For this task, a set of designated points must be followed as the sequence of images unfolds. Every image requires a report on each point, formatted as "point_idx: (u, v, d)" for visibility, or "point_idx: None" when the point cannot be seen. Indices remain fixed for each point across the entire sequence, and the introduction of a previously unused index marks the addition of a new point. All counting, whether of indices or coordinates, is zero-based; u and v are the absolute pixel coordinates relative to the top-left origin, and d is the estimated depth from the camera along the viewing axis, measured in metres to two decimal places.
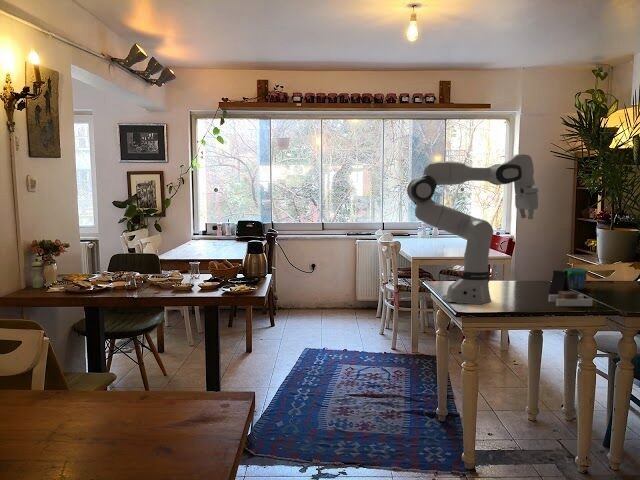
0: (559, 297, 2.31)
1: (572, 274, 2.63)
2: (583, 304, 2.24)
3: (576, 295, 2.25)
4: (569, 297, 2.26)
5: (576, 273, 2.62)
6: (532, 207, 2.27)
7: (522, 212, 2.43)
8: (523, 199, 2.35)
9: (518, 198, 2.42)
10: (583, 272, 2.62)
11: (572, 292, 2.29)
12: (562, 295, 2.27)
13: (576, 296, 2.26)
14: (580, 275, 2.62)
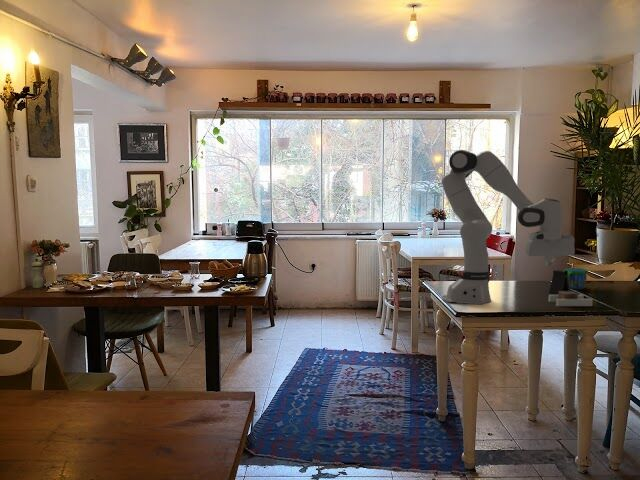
0: (559, 297, 2.31)
1: (572, 274, 2.63)
2: (583, 304, 2.24)
3: (576, 295, 2.25)
4: (569, 297, 2.26)
5: (576, 273, 2.62)
6: (526, 252, 2.28)
7: (553, 259, 2.27)
8: None
9: None
10: (583, 272, 2.62)
11: (572, 292, 2.29)
12: (562, 295, 2.27)
13: (576, 296, 2.26)
14: (580, 275, 2.62)
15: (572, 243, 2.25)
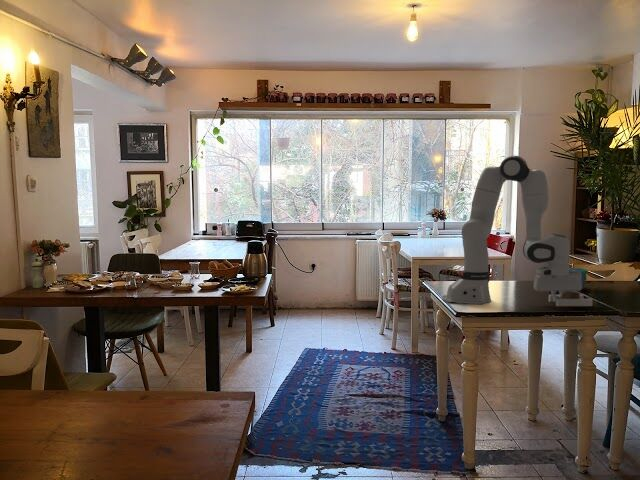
0: (561, 297, 2.31)
1: None
2: (583, 304, 2.24)
3: (578, 295, 2.25)
4: (571, 297, 2.26)
5: None
6: (534, 287, 2.30)
7: (560, 294, 2.29)
8: None
9: None
10: (583, 272, 2.62)
11: (574, 292, 2.29)
12: (564, 295, 2.27)
13: (578, 296, 2.25)
14: None
15: (579, 279, 2.26)
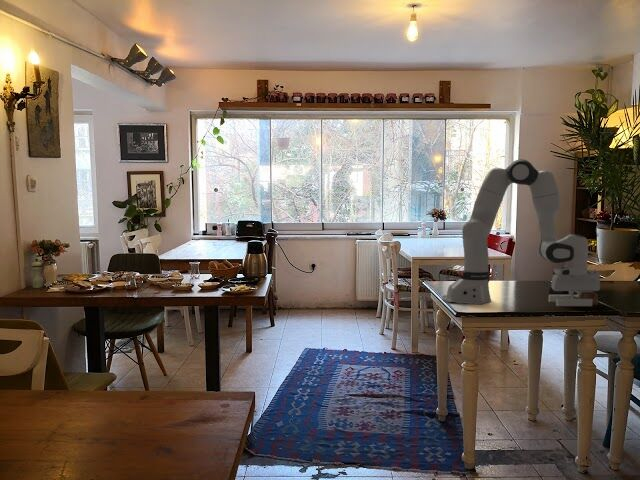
0: (579, 297, 2.30)
1: None
2: (583, 304, 2.24)
3: (596, 295, 2.25)
4: (589, 297, 2.25)
5: None
6: (552, 287, 2.29)
7: (577, 294, 2.28)
8: None
9: None
10: None
11: (592, 292, 2.28)
12: (582, 295, 2.27)
13: (596, 296, 2.25)
14: None
15: (598, 279, 2.25)
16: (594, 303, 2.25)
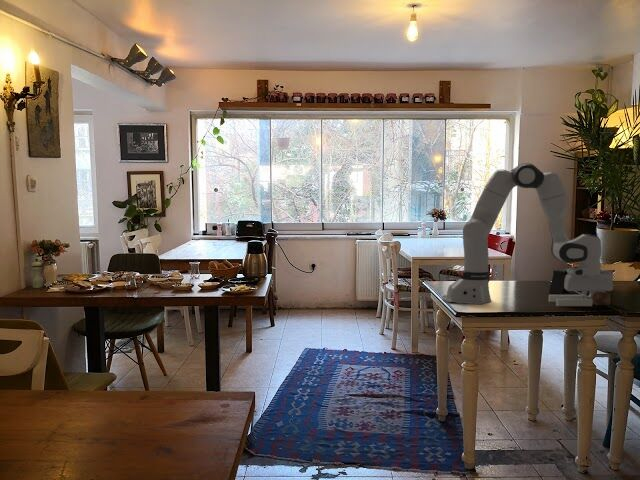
0: None
1: None
2: (583, 304, 2.24)
3: (609, 295, 2.25)
4: (601, 297, 2.25)
5: None
6: (564, 287, 2.29)
7: (590, 294, 2.28)
8: None
9: None
10: None
11: (604, 292, 2.28)
12: (594, 295, 2.27)
13: (609, 296, 2.25)
14: None
15: (611, 279, 2.25)
16: (606, 303, 2.25)
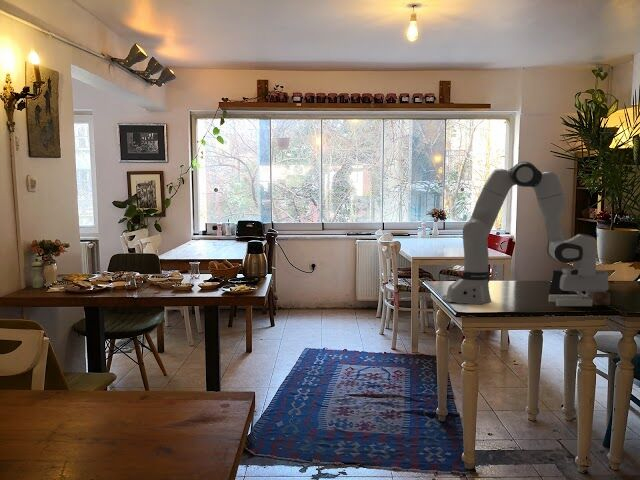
0: (591, 297, 2.30)
1: None
2: (583, 304, 2.24)
3: (608, 295, 2.25)
4: (601, 297, 2.25)
5: None
6: (560, 287, 2.29)
7: (586, 294, 2.28)
8: None
9: None
10: None
11: (604, 292, 2.28)
12: (594, 295, 2.27)
13: (608, 296, 2.25)
14: None
15: (606, 279, 2.25)
16: (606, 303, 2.25)
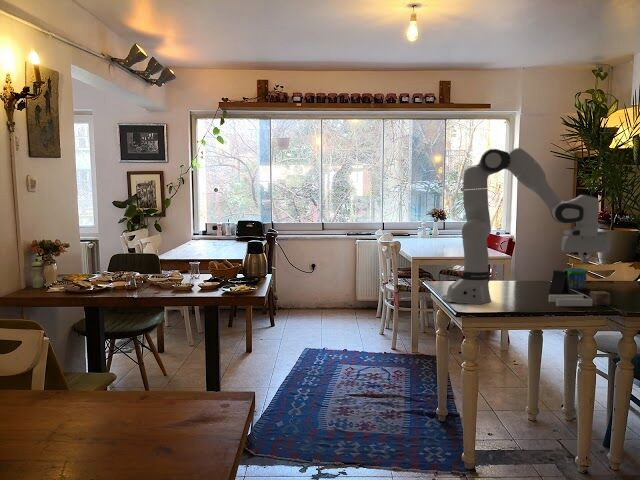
0: (591, 297, 2.30)
1: (572, 274, 2.63)
2: (583, 304, 2.24)
3: (608, 295, 2.25)
4: (601, 297, 2.25)
5: (576, 273, 2.62)
6: (561, 248, 2.28)
7: (587, 256, 2.27)
8: None
9: None
10: (583, 272, 2.62)
11: (604, 292, 2.28)
12: (594, 295, 2.27)
13: (608, 296, 2.25)
14: (580, 275, 2.62)
15: (608, 240, 2.24)
16: (606, 303, 2.25)
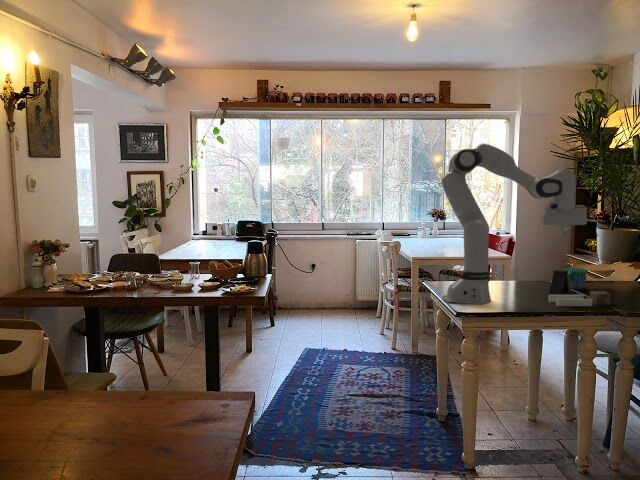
0: (591, 297, 2.30)
1: (572, 274, 2.63)
2: (583, 304, 2.24)
3: (608, 295, 2.25)
4: (601, 297, 2.25)
5: (576, 273, 2.62)
6: (541, 222, 2.39)
7: (566, 228, 2.38)
8: None
9: None
10: (583, 272, 2.62)
11: (604, 292, 2.28)
12: (594, 295, 2.27)
13: (608, 296, 2.25)
14: (580, 275, 2.62)
15: (585, 213, 2.35)
16: (606, 303, 2.25)
